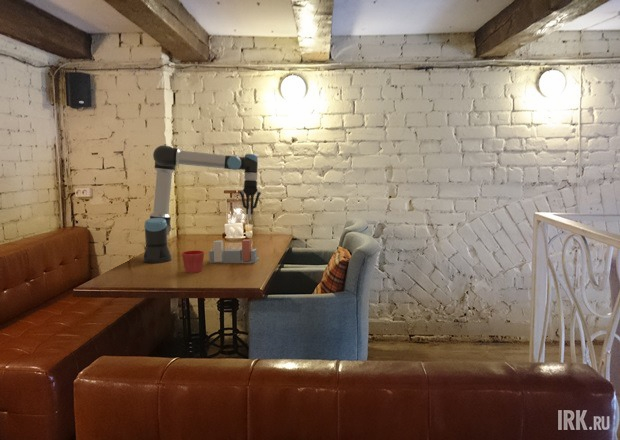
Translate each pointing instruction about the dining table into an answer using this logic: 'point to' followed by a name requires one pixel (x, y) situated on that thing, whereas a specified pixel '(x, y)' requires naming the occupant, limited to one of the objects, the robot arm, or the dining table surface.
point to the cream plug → (218, 251)
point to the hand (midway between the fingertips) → (249, 219)
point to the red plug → (246, 250)
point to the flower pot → (193, 261)
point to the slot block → (234, 256)
